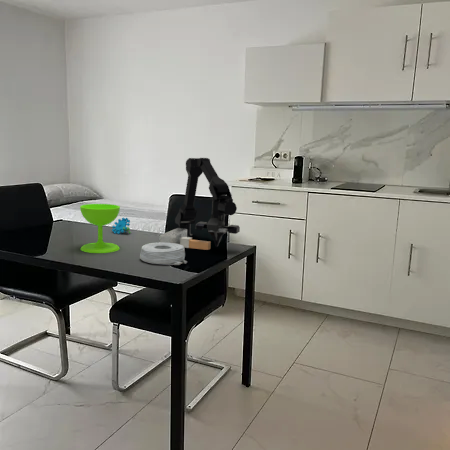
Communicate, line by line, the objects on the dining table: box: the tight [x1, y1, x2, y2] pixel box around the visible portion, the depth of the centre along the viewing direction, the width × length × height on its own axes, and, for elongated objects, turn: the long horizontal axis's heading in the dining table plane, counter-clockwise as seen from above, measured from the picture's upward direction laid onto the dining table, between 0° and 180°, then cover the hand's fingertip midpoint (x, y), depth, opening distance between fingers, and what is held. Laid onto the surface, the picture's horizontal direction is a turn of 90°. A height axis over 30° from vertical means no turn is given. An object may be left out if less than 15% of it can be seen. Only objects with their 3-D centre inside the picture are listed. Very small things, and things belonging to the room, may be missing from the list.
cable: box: [139, 242, 188, 266], centre depth 177 cm, size 18×18×6 cm
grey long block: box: [158, 227, 187, 244], centre depth 203 cm, size 20×5×6 cm, turn 163°
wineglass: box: [79, 203, 121, 254], centre depth 189 cm, size 16×16×18 cm
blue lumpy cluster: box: [111, 217, 132, 235], centre depth 225 cm, size 11×6×10 cm
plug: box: [180, 236, 212, 251], centre depth 201 cm, size 4×13×4 cm, turn 73°
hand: (216, 246), depth 198 cm, fingers closed
